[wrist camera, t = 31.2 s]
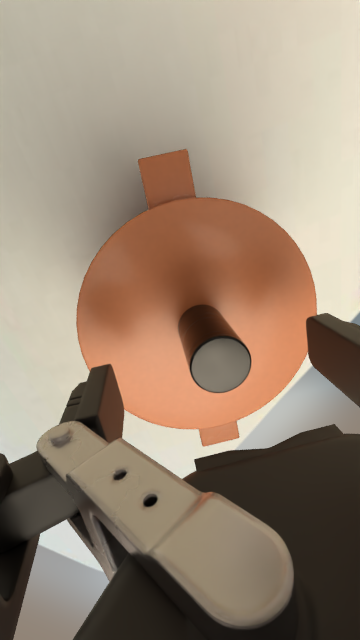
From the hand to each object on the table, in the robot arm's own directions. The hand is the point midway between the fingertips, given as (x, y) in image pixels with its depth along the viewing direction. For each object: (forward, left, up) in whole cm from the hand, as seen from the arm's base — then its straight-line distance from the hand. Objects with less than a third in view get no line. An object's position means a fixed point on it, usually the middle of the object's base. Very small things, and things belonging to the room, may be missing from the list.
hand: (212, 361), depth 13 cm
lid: (0, 0, -4) cm, 4 cm away
